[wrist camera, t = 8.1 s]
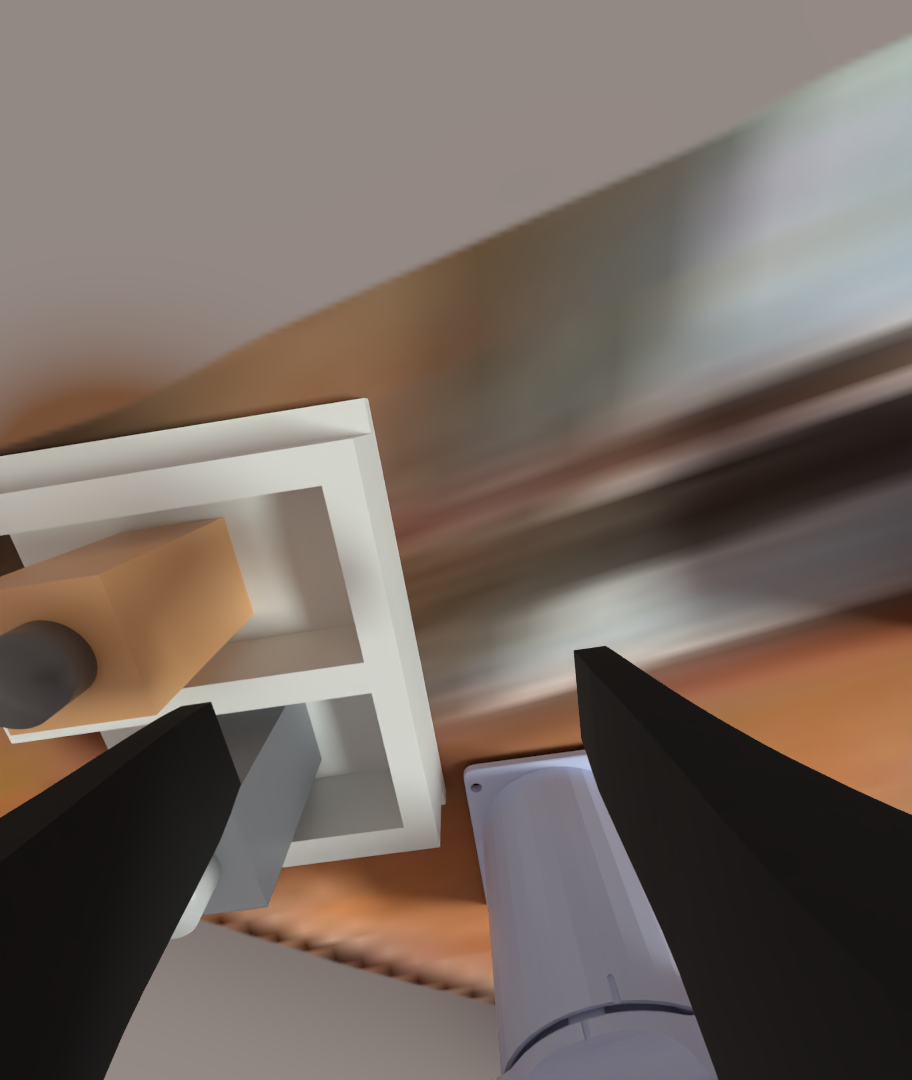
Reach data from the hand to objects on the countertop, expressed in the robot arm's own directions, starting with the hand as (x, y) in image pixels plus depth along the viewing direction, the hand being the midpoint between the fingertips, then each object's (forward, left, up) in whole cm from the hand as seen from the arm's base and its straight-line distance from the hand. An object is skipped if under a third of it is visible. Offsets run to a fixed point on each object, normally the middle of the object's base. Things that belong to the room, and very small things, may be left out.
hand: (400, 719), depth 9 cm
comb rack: (-3, +8, -9) cm, 13 cm away
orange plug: (+1, +9, -9) cm, 13 cm away
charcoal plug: (-6, +8, -9) cm, 13 cm away
